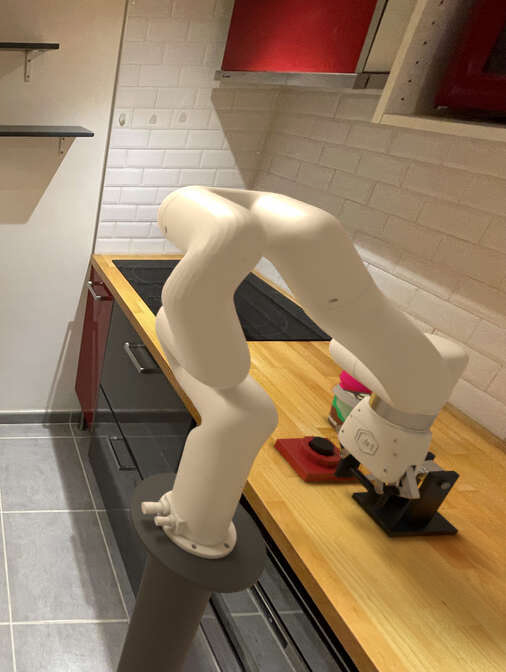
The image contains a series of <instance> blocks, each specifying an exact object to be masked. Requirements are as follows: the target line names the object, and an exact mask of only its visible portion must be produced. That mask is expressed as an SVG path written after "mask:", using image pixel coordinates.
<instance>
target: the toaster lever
mask: <svg viewBox="0 0 506 672" xmlns="http://www.w3.org/2000/svg"><path fill="white" fill-rule="evenodd" d="M359 469H360V468H359ZM359 469H358V468H357V467H356V466H354V465H351V466H349V467H348V468H347V470H348V471H349V472H350V473H351V474H352V476H353V477H354V478H355V479H356V480H355V481H356V482H358V483H359V484H360V485H361V486H362V487H363V488H364V489H365V490H366V492H367V491H368V489H369V488H370V487H375V481H376V477H375V476H374V475H373V474H372V473H368V474H364V473H362V472H363V471H362V470H361V469H360V470H361V471H362V472H361V471H360V470H359ZM429 471H446V470H445V469H444V468H442V467H441V466H440V465H439V464H438V463H436V462H435V461H434V460H428V461H424V462H423V465H422V467H421V469H420V470H419V472H418V474H417V476H416V477H415V478H417V477H418V478H419V479H421V482H423V481H424V479H425V477H426V476H427V474H428V472H429ZM400 480H401V478H400Z"/></svg>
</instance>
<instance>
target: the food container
mask: <svg viewBox="0 0 506 672" xmlns="http://www.w3.org/2000/svg"><path fill="white" fill-rule="evenodd" d="M331 391H332V393H333V394H334V395H333V398H332V402H331V406H330V410H329V412H328V413H329V414H328V418H327V421H328V423H329V424H330V425H331V427H332V429H335V427H336V426H339V425H343V424H344V422H345V420H346V419H347V417H348V416H349V414H350V413H351V411H352V410H353V409H354V408H355V407H356V405H357V404H358V403H359V402H360V401H361V400H362V399H363V398H365V397H368V396H369V397H371V395H372V393H365V392H357V391H351V390H347V389H343V388H341V387H340V385H339V383H337V384H336V385H335V386H334V387H333V388H332V389H331Z"/></svg>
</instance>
